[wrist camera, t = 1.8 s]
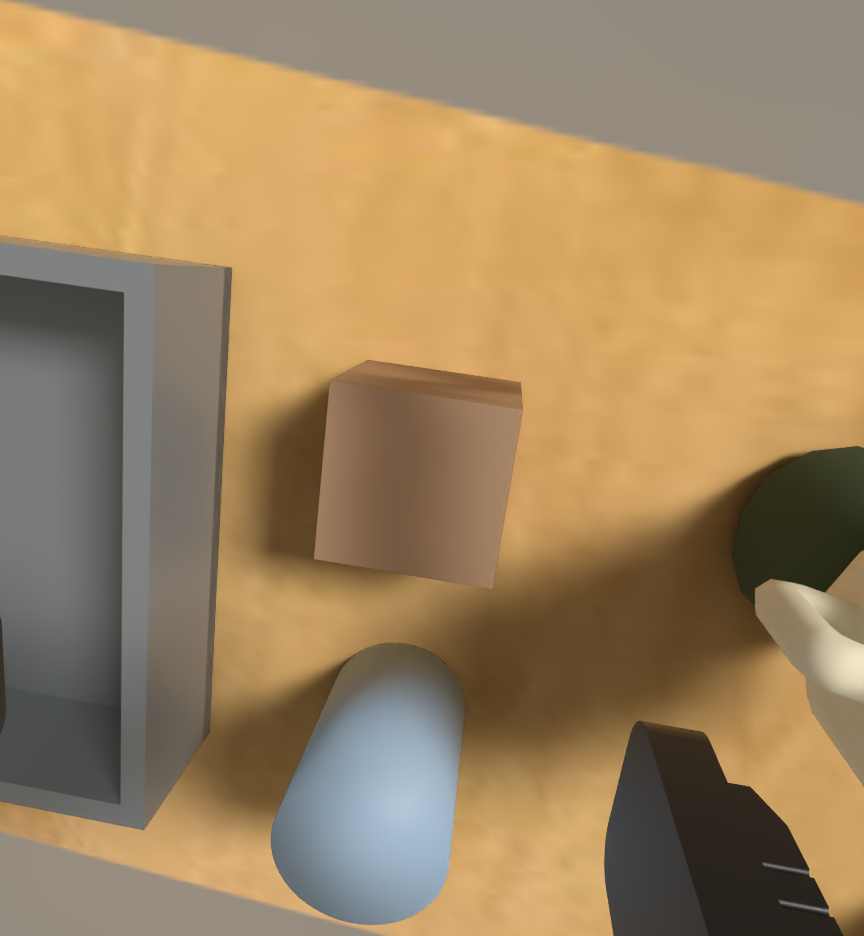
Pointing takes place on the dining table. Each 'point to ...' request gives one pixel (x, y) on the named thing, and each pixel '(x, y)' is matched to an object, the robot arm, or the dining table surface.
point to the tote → (107, 522)
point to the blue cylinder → (375, 789)
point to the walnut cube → (417, 471)
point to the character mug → (813, 582)
